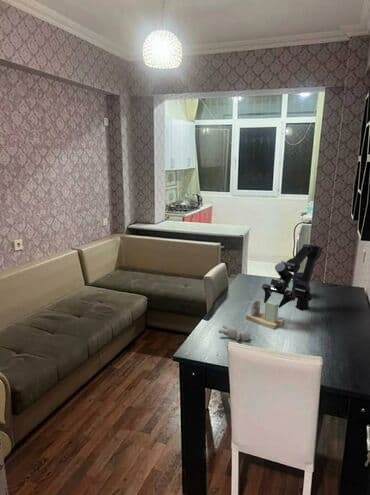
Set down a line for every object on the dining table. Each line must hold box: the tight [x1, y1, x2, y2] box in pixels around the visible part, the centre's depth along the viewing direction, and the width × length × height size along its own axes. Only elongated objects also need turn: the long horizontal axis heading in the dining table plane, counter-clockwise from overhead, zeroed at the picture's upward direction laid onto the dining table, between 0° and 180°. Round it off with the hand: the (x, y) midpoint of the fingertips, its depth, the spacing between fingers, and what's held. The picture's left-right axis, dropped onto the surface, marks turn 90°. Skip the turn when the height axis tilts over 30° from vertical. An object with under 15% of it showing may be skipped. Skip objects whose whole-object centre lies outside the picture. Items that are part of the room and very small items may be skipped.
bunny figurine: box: [218, 324, 252, 342], centre depth 179 cm, size 10×5×15 cm
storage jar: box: [291, 271, 303, 294], centre depth 237 cm, size 10×10×15 cm
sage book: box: [264, 300, 279, 323], centre depth 194 cm, size 3×6×10 cm, turn 42°
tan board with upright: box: [245, 299, 285, 330], centre depth 197 cm, size 10×18×10 cm, turn 43°
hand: (271, 305), depth 193 cm, fingers open, 9 cm apart
